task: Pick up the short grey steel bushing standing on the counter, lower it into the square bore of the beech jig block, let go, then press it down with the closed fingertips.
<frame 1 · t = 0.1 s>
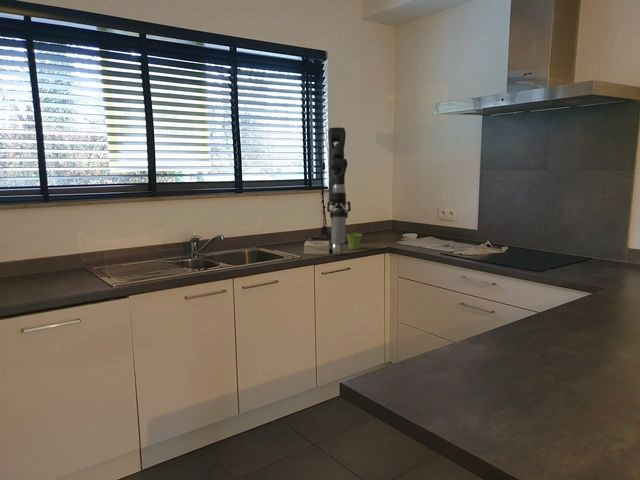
hand: (338, 218, 285), 17 cm above the worktop, tool pointing down, fingers open, 8 cm apart
plant pot: (354, 249, 279), on the worktop
bushing: (336, 254, 262), on the worktop
jig: (317, 251, 271), on the worktop
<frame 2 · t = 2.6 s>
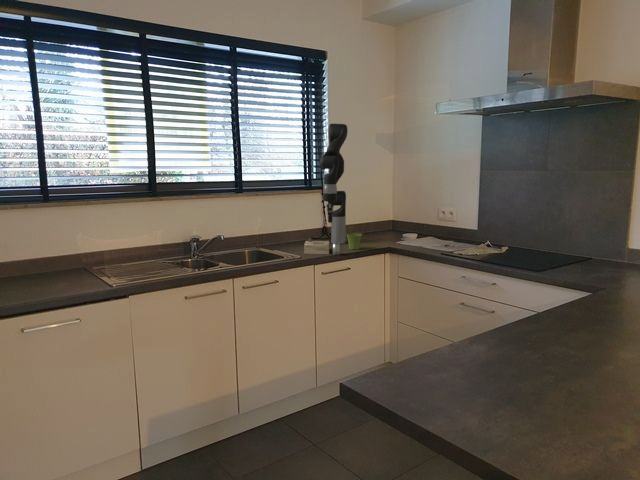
hand: (330, 221, 261), 18 cm above the worktop, tool pointing down, fingers open, 8 cm apart
nothing on the worktop moved.
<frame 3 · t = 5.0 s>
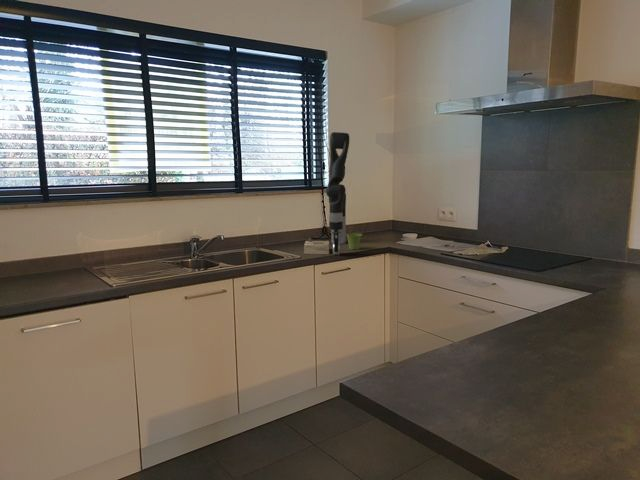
hand: (336, 250, 262), 2 cm above the worktop, tool pointing down, fingers closed on bushing, 4 cm apart
bushing: (336, 254, 262), on the worktop, touching gripper
everything else where it was.
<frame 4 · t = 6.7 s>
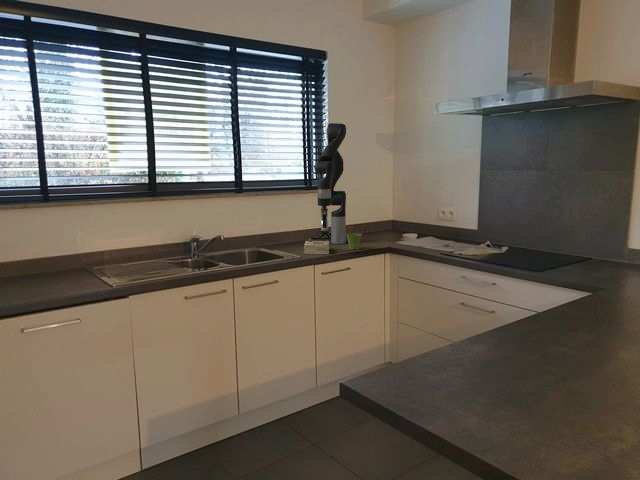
hand: (324, 227, 267), 15 cm above the worktop, tool pointing down, fingers closed on bushing, 4 cm apart
bushing: (324, 230, 267), point 13 cm above the worktop, touching gripper
everything else where it was.
when the fingers open (5 cm above the worktop, at t = 8.8 s): bushing drops 3 cm, resting in jig.
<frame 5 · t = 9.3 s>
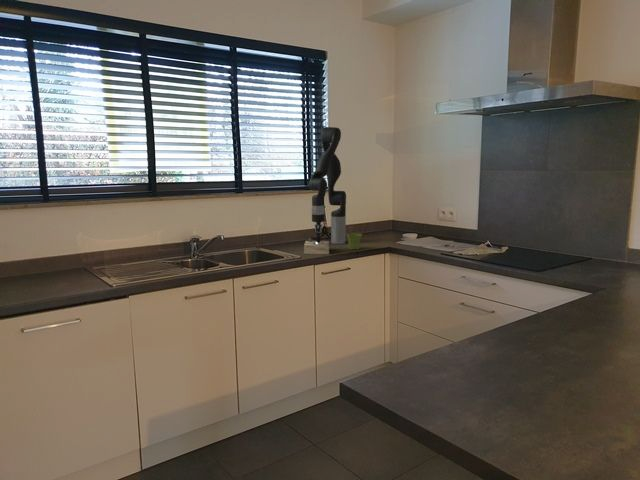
hand: (318, 241, 270), 6 cm above the worktop, tool pointing down, fingers open, 8 cm apart
bushing: (318, 251, 271), resting in jig
everything else where it was.
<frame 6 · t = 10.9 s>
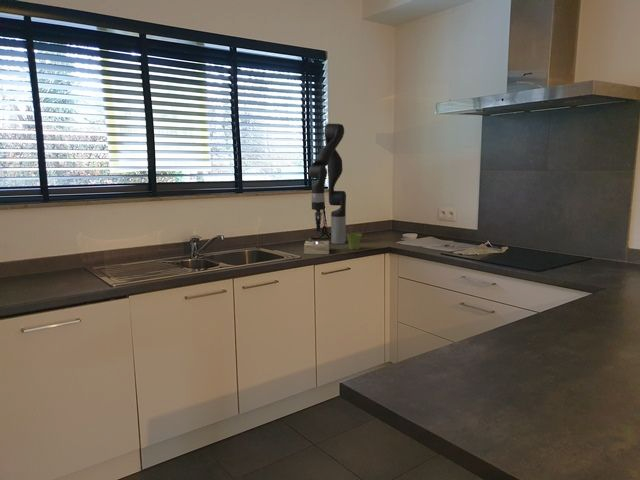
hand: (318, 231, 270), 12 cm above the worktop, tool pointing down, fingers closed
nothing on the worktop moved.
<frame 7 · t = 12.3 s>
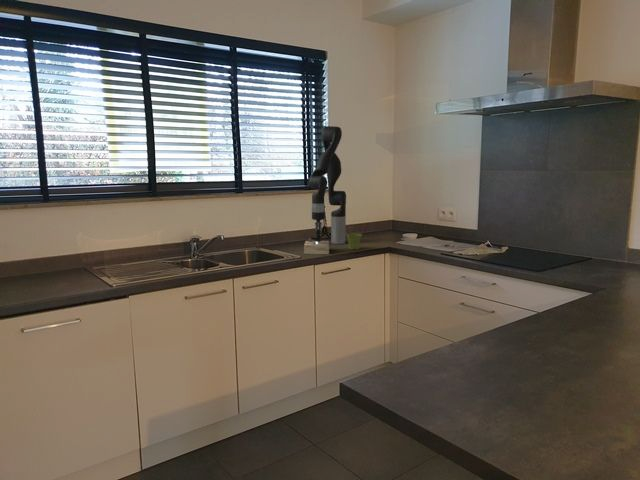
hand: (318, 241, 270), 6 cm above the worktop, tool pointing down, fingers closed
nothing on the worktop moved.
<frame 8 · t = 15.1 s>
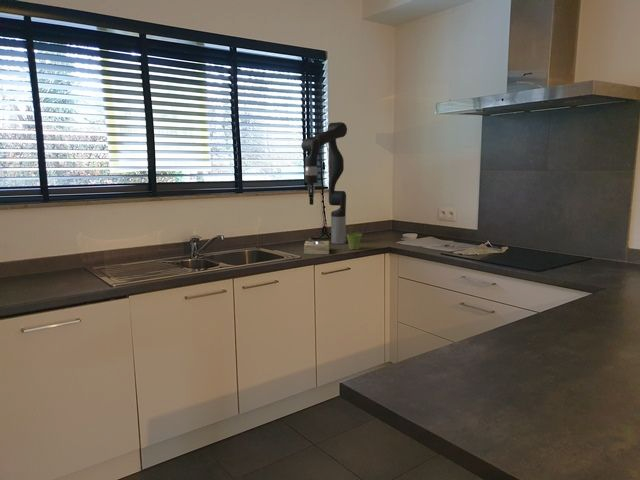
hand: (311, 204, 271), 27 cm above the worktop, tool pointing down, fingers closed
nothing on the worktop moved.
at the end: bushing 0.0 cm from the target spot on the jig, point 0.0 cm above the jig's base; bushing tilted 0°; the gripper is holding nothing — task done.
